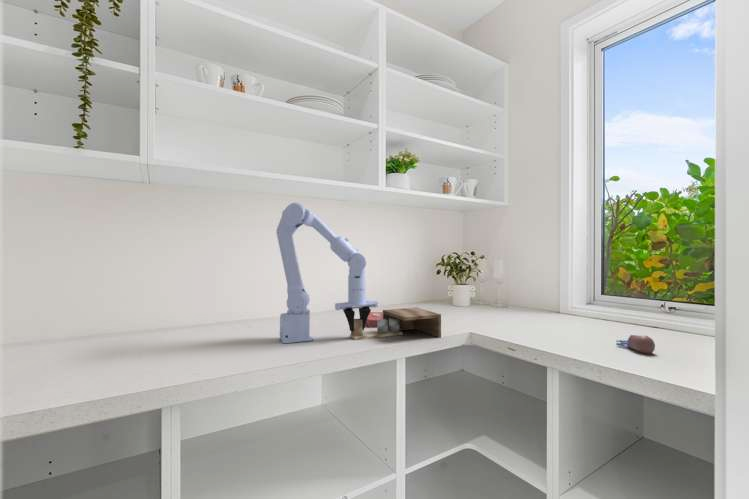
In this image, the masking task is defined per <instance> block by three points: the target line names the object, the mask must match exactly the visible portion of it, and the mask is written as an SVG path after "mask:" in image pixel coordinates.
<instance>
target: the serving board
mask: <svg viewBox="0 0 749 499" xmlns="http://www.w3.org/2000/svg"><path fill="white" fill-rule="evenodd" d="M363 331H364V330H363V320H361V319H360V318H354V331H350V334H349V337H350V338H352V339H353V340H355V341H357V340H358V341H359V340H367V339H375V338H384V337H385V338H387V337H395V336H403V335H404V332H403V331H402V330H399V319H398V318H389V330H388V320H387V319H378V320H377V331H368V332H363ZM386 336H387V337H386Z"/></svg>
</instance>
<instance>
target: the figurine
mask: <svg viewBox="0 0 749 499" xmlns="http://www.w3.org/2000/svg"><path fill="white" fill-rule="evenodd" d="M615 344H616V345H618V346H620V345H624V346H627V347H628V348H631V349H633V350H635V351H638V352H640V353H641V354H644V355H652V354H653V352H654V351H656V350H655V349H656V344H655V342H654V340H653V338H651V337H650V336H648V335H633V334H630V335H629V337H628V338H627V339H626V340H623V339H620V340H619V339H617V340H616V341H615Z"/></svg>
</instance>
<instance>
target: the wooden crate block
mask: <svg viewBox="0 0 749 499" xmlns="http://www.w3.org/2000/svg"><path fill="white" fill-rule="evenodd" d="M382 312H383V319H387V320H388V330H389V318H398V319H399V331H406V330H418V331H421V332H423V333H426V334H428V335H430V334H431V336H433V337H435V336H436V337H435V338H438V339H440V338H442V314H441V313H438V312H434V311H431V310H427V309H424V308H420V307H405V308H402V307H401V308H391V309H390V308H389V309H382Z"/></svg>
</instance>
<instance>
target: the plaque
mask: <svg viewBox="0 0 749 499" xmlns="http://www.w3.org/2000/svg"><path fill="white" fill-rule="evenodd" d="M378 319H383V311H371V312H370V314H369V315H368V318H367V320H366V323H365V325H367V328H372V329H373V328H375V329H376V328H377V320H378Z"/></svg>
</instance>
